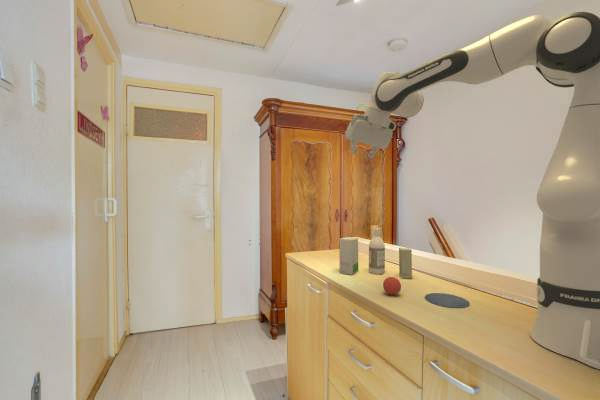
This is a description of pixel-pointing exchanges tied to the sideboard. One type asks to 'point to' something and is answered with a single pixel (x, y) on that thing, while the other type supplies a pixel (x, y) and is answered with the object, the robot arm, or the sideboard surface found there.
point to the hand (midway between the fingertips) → (361, 155)
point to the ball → (392, 285)
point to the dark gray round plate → (447, 300)
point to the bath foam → (376, 254)
